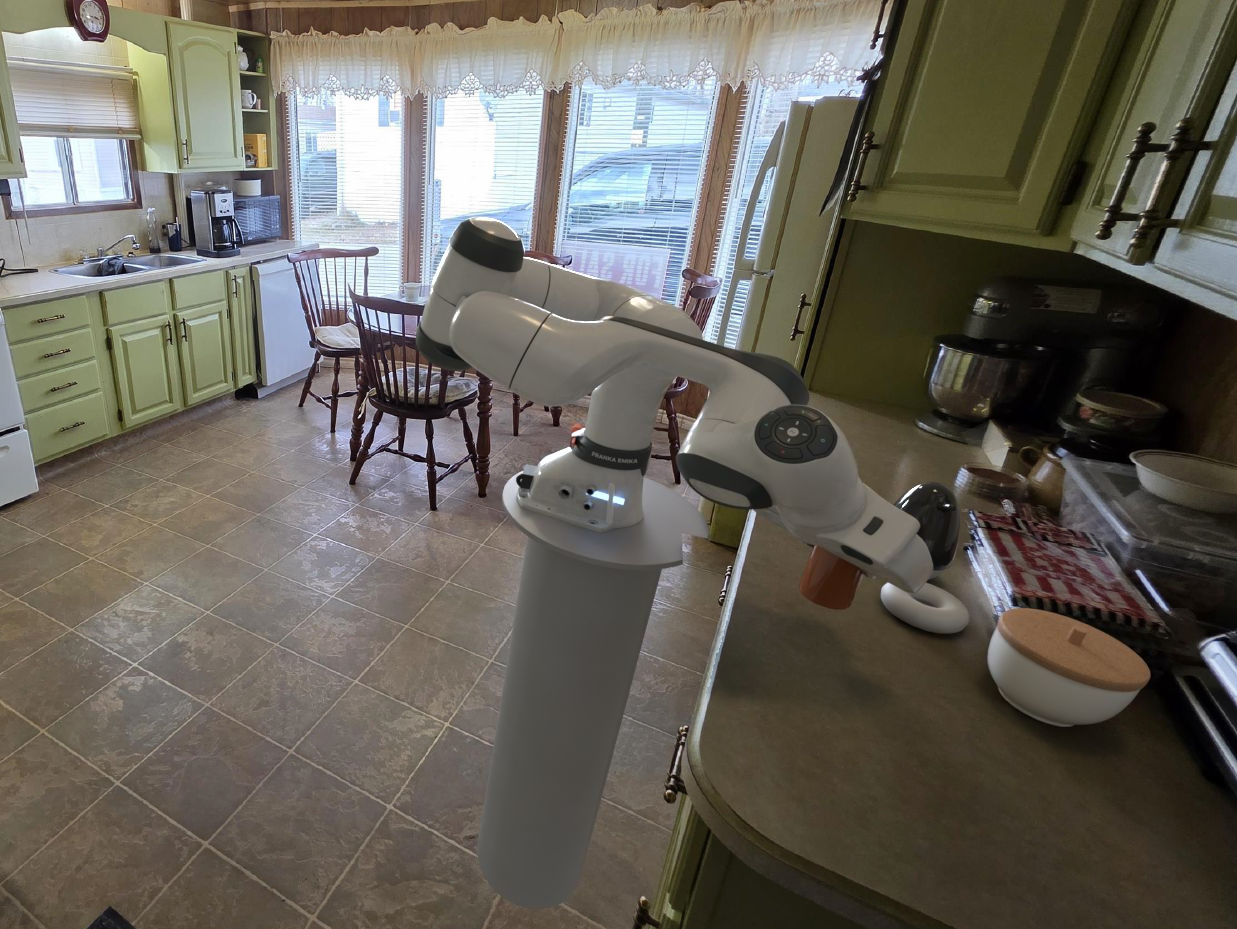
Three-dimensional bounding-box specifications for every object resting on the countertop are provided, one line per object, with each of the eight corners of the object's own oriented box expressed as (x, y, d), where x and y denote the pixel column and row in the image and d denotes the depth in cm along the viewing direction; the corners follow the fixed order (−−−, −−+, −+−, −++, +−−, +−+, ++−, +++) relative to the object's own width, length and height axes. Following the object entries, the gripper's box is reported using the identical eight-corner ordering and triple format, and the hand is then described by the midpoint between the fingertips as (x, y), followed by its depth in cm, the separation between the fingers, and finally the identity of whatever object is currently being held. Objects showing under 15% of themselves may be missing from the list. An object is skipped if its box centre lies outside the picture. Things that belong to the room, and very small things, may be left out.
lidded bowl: (992, 652, 88) (1029, 582, 84) (1124, 718, 78) (1174, 644, 74) (952, 687, 82) (990, 614, 77) (1091, 764, 72) (1143, 686, 68)
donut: (953, 607, 97) (872, 584, 101) (964, 588, 95) (881, 565, 99) (971, 649, 89) (881, 622, 93) (982, 629, 87) (891, 602, 91)
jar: (802, 602, 87) (834, 518, 82) (794, 576, 92) (824, 496, 87) (856, 614, 85) (892, 529, 80) (844, 588, 90) (878, 506, 85)
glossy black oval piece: (877, 583, 101) (914, 494, 95) (853, 546, 110) (886, 464, 104) (955, 597, 99) (999, 507, 93) (924, 559, 108) (962, 475, 102)
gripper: (725, 486, 86) (752, 534, 95) (898, 573, 70) (912, 622, 78) (757, 449, 86) (781, 501, 95) (936, 527, 70) (946, 581, 79)
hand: (842, 556), depth 86 cm, fingers closed on jar, 6 cm apart
